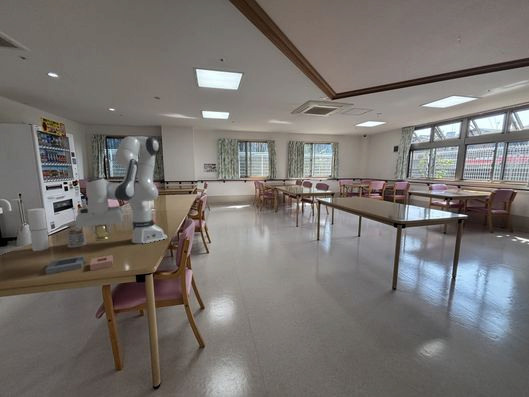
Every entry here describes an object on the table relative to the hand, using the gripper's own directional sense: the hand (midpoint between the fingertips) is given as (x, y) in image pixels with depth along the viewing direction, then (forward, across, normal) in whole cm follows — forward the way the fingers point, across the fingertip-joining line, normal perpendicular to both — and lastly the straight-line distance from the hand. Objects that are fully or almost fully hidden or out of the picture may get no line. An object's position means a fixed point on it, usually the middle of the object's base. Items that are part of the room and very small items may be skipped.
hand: (101, 232), depth 120 cm
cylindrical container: (+15, +34, -40) cm, 55 cm away
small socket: (+15, +1, +10) cm, 18 cm away
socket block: (+15, +16, +2) cm, 21 cm away
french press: (+16, +17, -37) cm, 44 cm away
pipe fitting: (+4, 0, 0) cm, 4 cm away
